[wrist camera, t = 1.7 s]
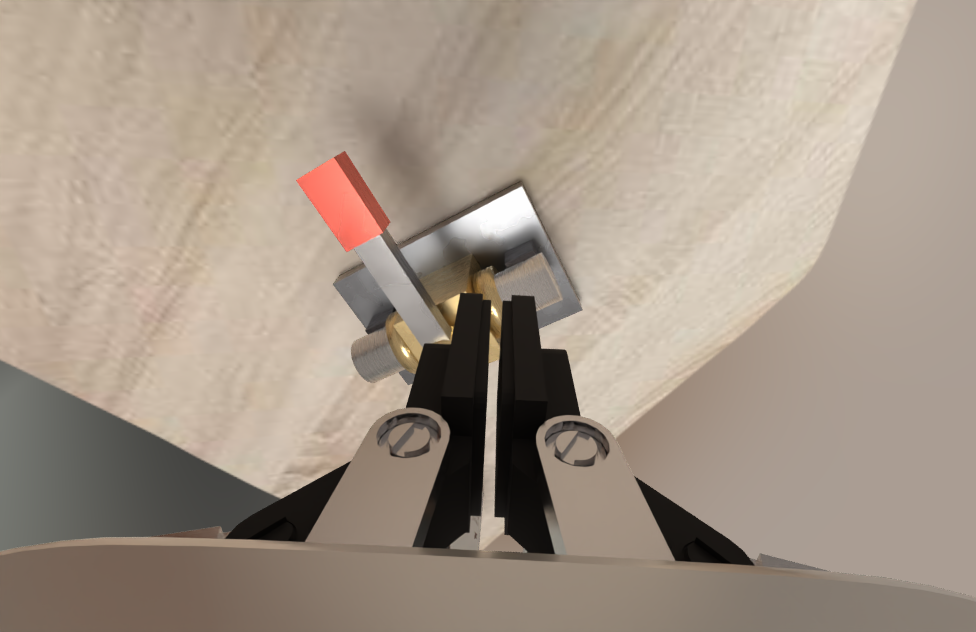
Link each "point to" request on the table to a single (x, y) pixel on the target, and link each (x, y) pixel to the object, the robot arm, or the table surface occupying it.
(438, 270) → the valve manifold
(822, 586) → the robot arm
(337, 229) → the valve lever
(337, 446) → the table surface
